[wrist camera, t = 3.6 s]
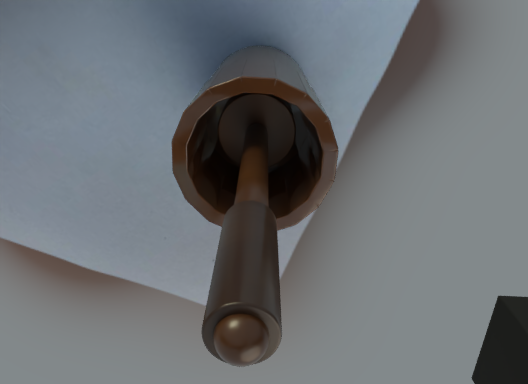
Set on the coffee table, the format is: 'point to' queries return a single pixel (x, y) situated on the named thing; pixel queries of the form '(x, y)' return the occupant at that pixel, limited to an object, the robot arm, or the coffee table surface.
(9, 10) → the coffee table surface
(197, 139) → the crock
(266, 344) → the wooden pestle
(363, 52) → the coffee table surface
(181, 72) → the coffee table surface
